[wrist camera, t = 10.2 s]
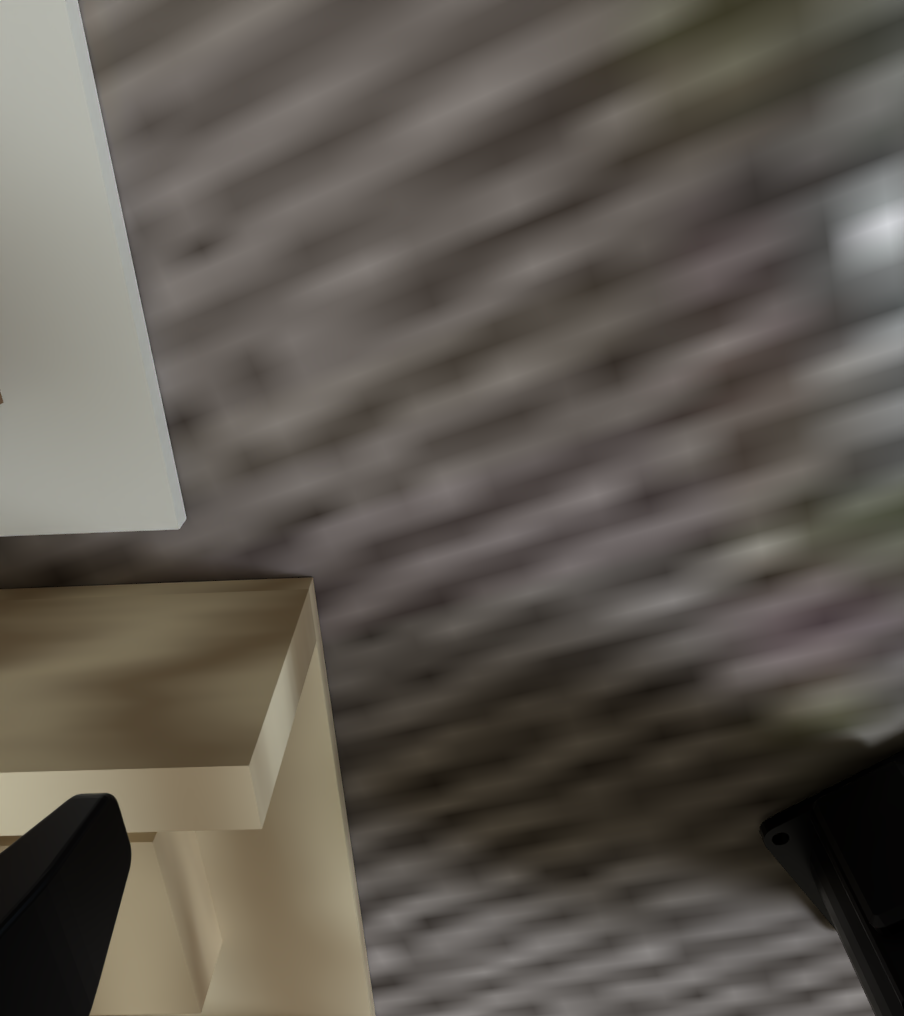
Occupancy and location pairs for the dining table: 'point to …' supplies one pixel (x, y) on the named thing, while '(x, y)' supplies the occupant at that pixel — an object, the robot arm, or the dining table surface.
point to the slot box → (194, 787)
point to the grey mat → (70, 303)
